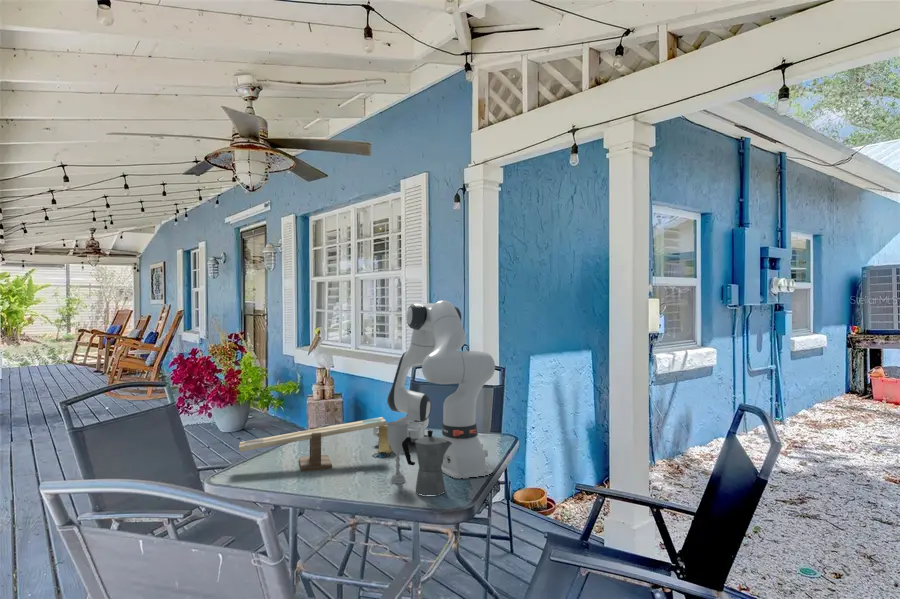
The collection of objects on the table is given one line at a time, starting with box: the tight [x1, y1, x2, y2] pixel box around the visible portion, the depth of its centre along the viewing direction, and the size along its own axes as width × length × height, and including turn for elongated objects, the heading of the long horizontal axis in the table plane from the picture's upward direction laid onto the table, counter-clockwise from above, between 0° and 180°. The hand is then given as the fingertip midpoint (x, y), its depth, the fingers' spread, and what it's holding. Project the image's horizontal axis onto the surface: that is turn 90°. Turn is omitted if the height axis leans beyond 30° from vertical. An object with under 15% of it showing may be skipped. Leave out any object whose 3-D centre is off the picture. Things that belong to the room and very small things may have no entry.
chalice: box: [386, 420, 409, 484], centre depth 168 cm, size 7×7×18 cm
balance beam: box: [238, 416, 387, 453], centre depth 187 cm, size 7×49×2 cm, turn 108°
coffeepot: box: [402, 429, 452, 495], centre depth 159 cm, size 15×9×18 cm, turn 75°
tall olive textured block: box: [378, 425, 393, 454], centre depth 204 cm, size 4×4×10 cm
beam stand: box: [298, 426, 333, 473], centre depth 187 cm, size 14×10×12 cm
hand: (388, 435), depth 205 cm, fingers open, 8 cm apart
